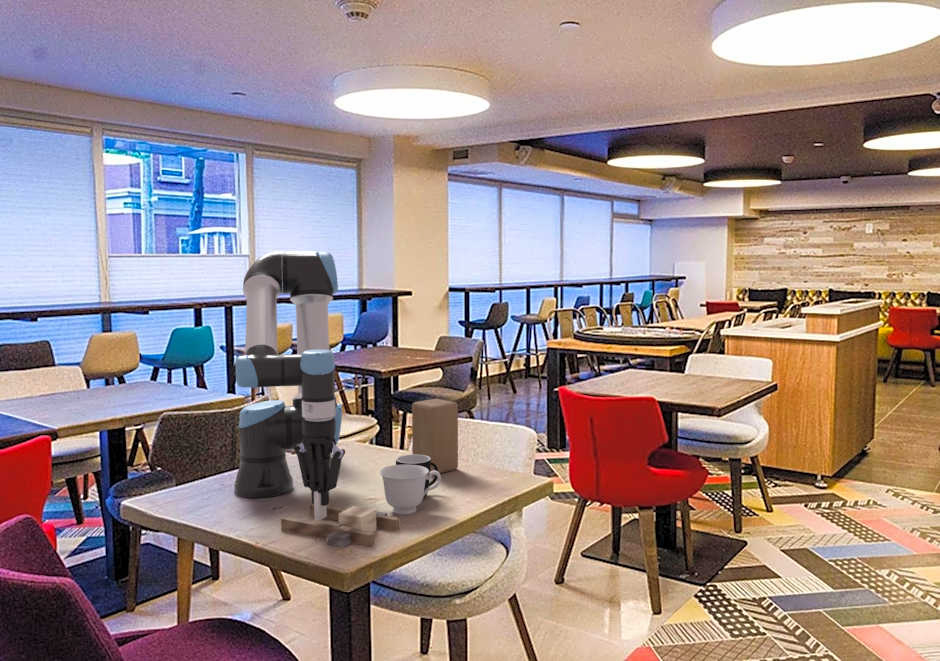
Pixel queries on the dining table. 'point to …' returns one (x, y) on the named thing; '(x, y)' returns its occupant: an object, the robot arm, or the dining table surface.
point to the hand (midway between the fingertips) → (320, 517)
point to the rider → (358, 518)
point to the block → (436, 432)
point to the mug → (421, 461)
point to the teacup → (406, 486)
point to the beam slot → (339, 528)
